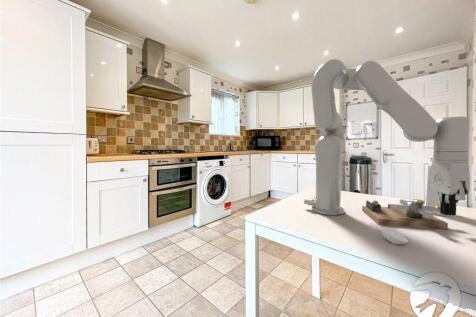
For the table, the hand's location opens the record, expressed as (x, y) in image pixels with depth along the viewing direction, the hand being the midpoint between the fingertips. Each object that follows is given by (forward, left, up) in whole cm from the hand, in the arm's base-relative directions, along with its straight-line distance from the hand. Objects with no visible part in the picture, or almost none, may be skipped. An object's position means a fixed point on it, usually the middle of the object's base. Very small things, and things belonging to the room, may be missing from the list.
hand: (447, 214), depth 65 cm
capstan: (-6, +6, -3) cm, 9 cm away
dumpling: (-20, -12, -6) cm, 24 cm away
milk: (+9, +19, -6) cm, 22 cm away
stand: (-9, +9, -5) cm, 14 cm away
